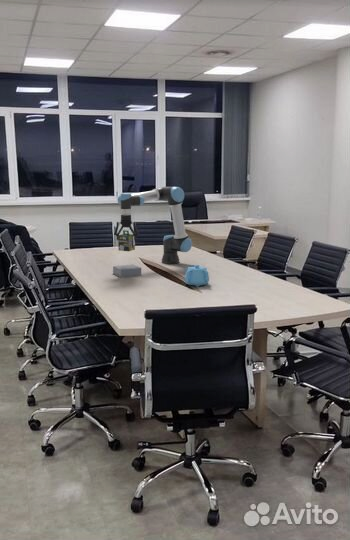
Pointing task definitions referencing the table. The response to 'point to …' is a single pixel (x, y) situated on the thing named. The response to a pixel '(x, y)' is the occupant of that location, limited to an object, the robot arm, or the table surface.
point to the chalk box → (125, 241)
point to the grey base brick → (127, 270)
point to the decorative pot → (196, 276)
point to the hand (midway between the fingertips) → (126, 244)
